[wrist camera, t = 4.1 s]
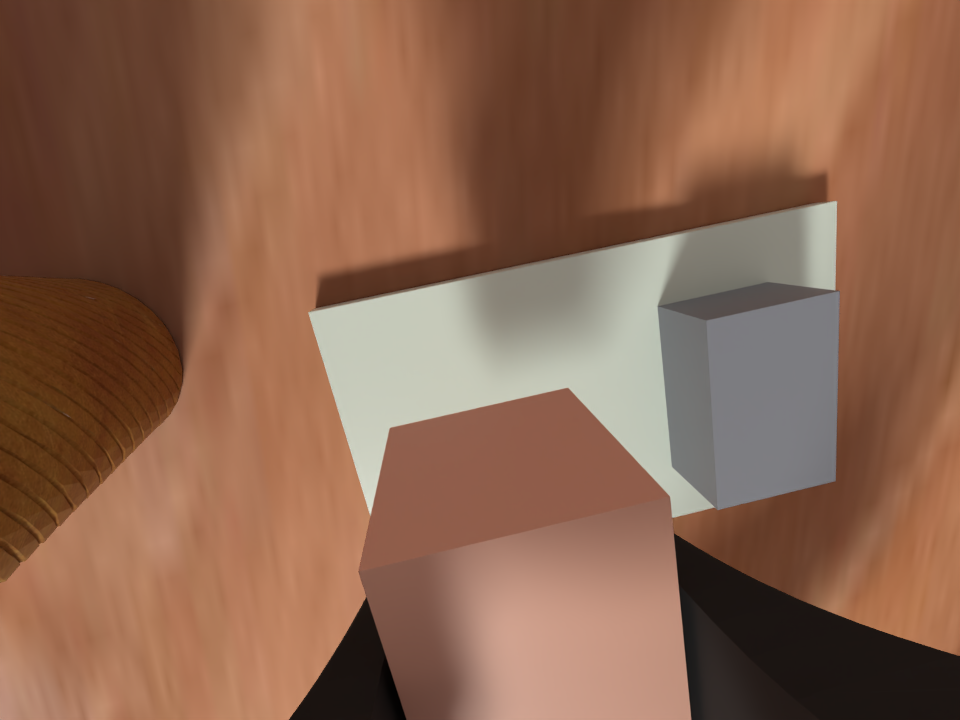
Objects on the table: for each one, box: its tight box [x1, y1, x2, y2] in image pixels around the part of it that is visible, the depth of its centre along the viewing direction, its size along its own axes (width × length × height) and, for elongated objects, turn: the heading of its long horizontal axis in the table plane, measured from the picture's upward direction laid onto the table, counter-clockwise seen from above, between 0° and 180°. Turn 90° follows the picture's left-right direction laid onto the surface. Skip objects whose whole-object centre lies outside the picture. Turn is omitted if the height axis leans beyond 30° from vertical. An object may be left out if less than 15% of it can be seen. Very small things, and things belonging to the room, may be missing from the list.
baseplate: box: [308, 201, 837, 518], centre depth 19 cm, size 20×12×1 cm, turn 101°
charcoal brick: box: [657, 282, 840, 510], centre depth 17 cm, size 4×7×3 cm, turn 11°
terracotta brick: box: [358, 388, 691, 720], centre depth 10 cm, size 4×7×5 cm, turn 11°
